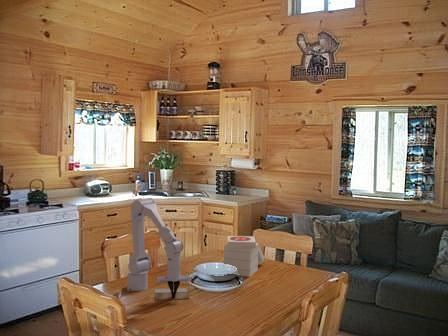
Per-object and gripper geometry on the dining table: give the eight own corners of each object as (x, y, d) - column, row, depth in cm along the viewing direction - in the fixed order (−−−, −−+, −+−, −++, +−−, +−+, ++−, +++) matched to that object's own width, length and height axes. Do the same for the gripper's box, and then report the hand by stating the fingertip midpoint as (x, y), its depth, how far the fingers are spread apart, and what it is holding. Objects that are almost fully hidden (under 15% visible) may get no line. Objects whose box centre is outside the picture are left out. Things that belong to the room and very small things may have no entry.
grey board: (154, 296, 218) (154, 293, 218) (154, 292, 224) (154, 288, 224) (187, 295, 220) (187, 292, 220) (186, 291, 226) (186, 288, 226)
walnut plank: (155, 302, 209) (155, 299, 209) (154, 296, 217) (154, 293, 217) (189, 301, 211) (189, 298, 211) (187, 295, 220) (187, 292, 220)
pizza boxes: (267, 264, 277) (268, 233, 276) (252, 278, 249) (253, 244, 248) (236, 260, 284) (237, 230, 283) (218, 273, 256) (218, 240, 254)
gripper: (157, 270, 206) (157, 301, 207) (191, 269, 208) (190, 300, 209) (157, 266, 213) (156, 295, 214) (189, 265, 215) (189, 294, 216)
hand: (173, 297), depth 212 cm, fingers closed, pressing on walnut plank
